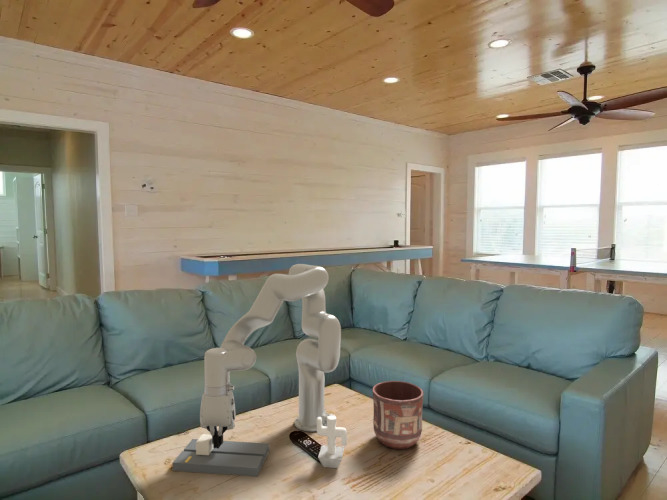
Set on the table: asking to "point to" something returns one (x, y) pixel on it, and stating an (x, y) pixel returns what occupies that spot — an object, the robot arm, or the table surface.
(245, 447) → the fader board
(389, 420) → the pottery
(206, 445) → the fader knob
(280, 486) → the table surface
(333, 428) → the figurine
